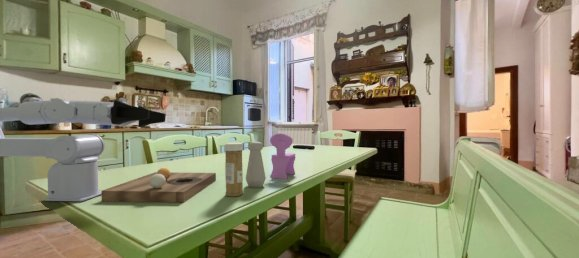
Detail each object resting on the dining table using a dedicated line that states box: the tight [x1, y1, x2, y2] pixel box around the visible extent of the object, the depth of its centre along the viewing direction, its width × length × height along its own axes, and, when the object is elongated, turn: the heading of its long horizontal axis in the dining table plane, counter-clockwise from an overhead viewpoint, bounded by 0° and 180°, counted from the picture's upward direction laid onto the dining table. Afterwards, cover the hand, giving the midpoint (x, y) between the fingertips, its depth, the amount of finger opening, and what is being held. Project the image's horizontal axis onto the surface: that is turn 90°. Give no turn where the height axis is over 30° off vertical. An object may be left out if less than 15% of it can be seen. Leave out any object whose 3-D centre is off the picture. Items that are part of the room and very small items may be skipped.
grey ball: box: [150, 174, 166, 188], centre depth 63 cm, size 4×4×4 cm
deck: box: [101, 171, 217, 203], centre depth 71 cm, size 20×22×2 cm
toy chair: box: [269, 132, 296, 180], centre depth 89 cm, size 8×9×15 cm
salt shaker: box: [245, 141, 267, 188], centre depth 74 cm, size 6×6×13 cm
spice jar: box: [224, 141, 244, 197], centre depth 66 cm, size 5×5×13 cm
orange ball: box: [156, 167, 171, 180], centre depth 71 cm, size 4×4×4 cm
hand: (157, 116), depth 63 cm, fingers open, 7 cm apart
